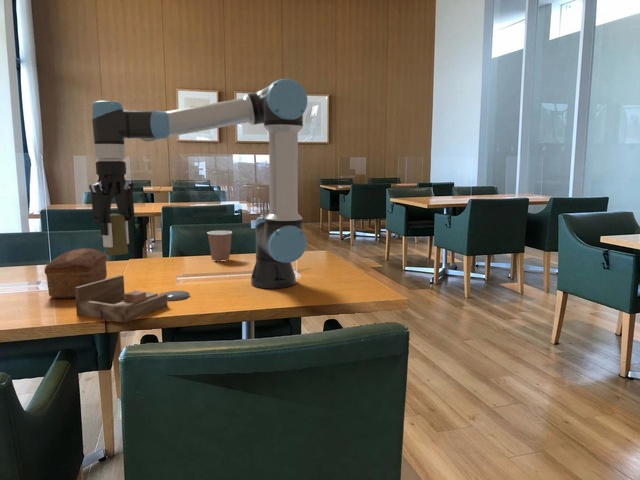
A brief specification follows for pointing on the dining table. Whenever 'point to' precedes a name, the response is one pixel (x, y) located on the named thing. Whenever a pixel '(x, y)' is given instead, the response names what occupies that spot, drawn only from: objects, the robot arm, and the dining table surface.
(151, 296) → the offcut
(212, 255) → the coffee cup
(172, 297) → the coaster
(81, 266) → the bread
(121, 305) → the offcut
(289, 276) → the robot arm
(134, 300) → the offcut
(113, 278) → the tray
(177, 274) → the dining table surface
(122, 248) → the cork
